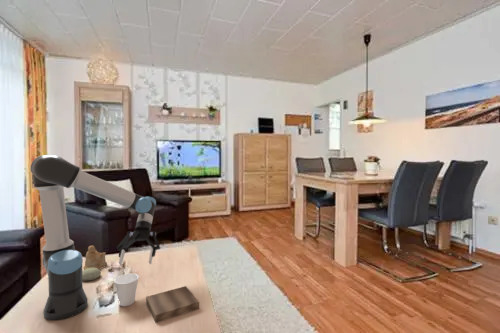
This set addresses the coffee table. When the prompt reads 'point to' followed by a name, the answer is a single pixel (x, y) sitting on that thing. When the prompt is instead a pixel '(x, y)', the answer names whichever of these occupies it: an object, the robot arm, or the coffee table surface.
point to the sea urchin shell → (90, 273)
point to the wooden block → (171, 303)
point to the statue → (94, 258)
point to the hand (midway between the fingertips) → (135, 263)
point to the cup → (126, 288)
